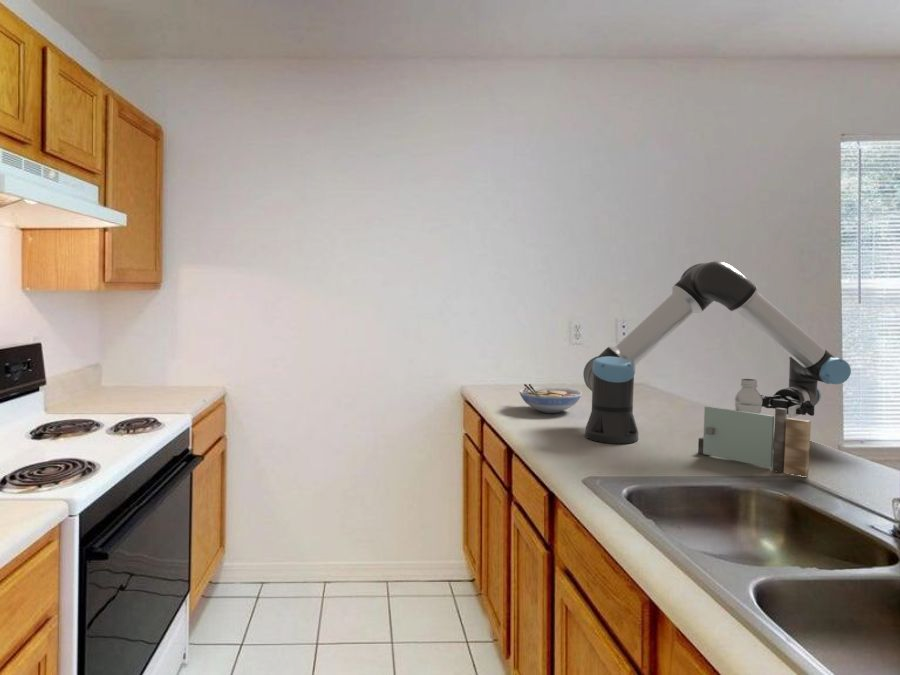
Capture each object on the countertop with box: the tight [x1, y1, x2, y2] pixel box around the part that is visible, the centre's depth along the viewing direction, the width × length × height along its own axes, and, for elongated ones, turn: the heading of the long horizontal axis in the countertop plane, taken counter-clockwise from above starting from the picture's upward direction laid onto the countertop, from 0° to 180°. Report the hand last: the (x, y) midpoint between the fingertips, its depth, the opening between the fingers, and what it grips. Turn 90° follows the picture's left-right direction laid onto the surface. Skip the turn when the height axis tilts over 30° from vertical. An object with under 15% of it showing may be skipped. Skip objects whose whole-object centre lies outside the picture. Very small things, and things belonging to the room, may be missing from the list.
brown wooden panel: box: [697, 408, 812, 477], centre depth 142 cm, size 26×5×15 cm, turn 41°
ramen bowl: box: [518, 383, 583, 414], centre depth 208 cm, size 25×23×8 cm
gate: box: [702, 405, 775, 469], centre depth 143 cm, size 16×3×12 cm, turn 41°
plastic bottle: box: [734, 378, 763, 414], centre depth 150 cm, size 6×7×20 cm
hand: (762, 408), depth 156 cm, fingers open, 13 cm apart
